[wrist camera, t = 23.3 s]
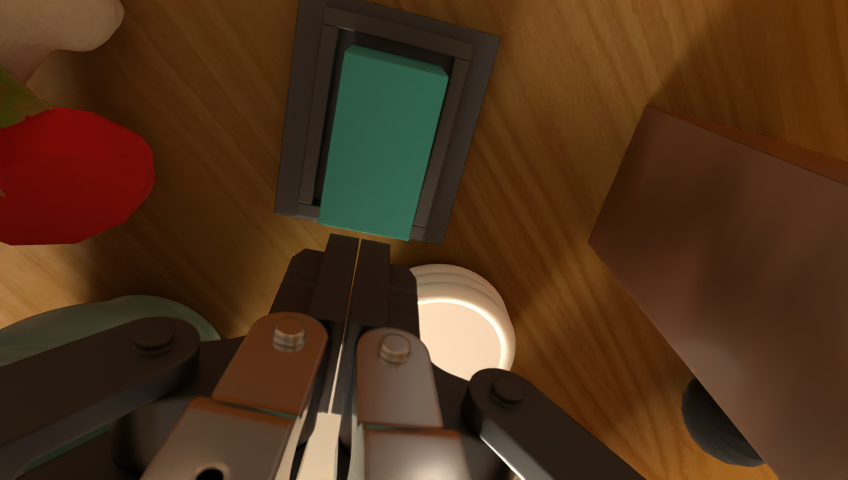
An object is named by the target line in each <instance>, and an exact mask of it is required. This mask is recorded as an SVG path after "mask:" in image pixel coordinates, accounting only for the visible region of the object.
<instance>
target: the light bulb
mask: <svg viewBox="0 0 848 480" xmlns="http://www.w3.org/2000/svg"><path fill="white" fill-rule="evenodd" d="M682 414H683V419H684V423H685V425H686V427H687V429H688V431H689V433H690V435H691V437H692V438H693V439H694V440H695V442H696V443H697V444H698V445H699V446H700V447H701V448H702V449H703V450H704V451H705V452H706V453H708V454H710V455H712V456H713V457H715V458H717V459H718V460H720V461H722V462H724V463H727V464H733V465H740V466H747V467H757V466H760V465H763V464H765V461H764V460H763V459H762V458H761V456H760V455H759V454H758V453H757V452H756V450H755V449H754V448H753V447H752V445H751V444H750V443H749V442H748V440H747V439H746V438H745V437H744V435H743V434H742V433H741V432H740V431H739V429H738V428H737V427H736V426H735V424H734V423H733V422H732V421H731V419H730V418H729V417H728V416H727V414H726V413H725V412H724V411H723V410H722V408H721V407H720V406H719V405H718V403H717V402H716V401H715V400H714V398H713V397H712V396H711V395H710V393H709V392H708V391H707V390H706V389H705V387H704V386H703V385H702V384H701V382H700V381H699V380H698V379H697V377H695V378H693V379H692V380H691V381H690V383H689V385H688V387H687V388H686V390H685V392H684V394H683V401H682Z"/></svg>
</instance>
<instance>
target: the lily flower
mask: <svg viewBox="0 0 848 480" xmlns="http://www.w3.org/2000/svg"><path fill="white" fill-rule="evenodd" d="M51 109H55V108H54V107H53V106H51V105H50V104H48V103H47V102H45V101H44V100H42V99H38V97H37V96H36V95H35V94H34V93H33V91H32V90H31V89H30V88H29V87H27V86H26V85H25V84H24V83H23V82H21V81H20V80H19V79H18V78H17V77H15V76H14V75H13V74H12V73H11V72H9V71H8V70H7V69H5V68H4V67H3V66H2V65H0V129H1V128H5V127H8V126H11V125H14V124H16V123H19V122H21V121H24V119H25V116H34V115H36V114H39V113H41V112H44V110H51ZM0 195H1V196H4V197H6V196H5V195H4V193H3V192H2V190H1V188H0Z"/></svg>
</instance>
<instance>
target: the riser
mask: <svg viewBox="0 0 848 480" xmlns="http://www.w3.org/2000/svg"><path fill="white" fill-rule="evenodd" d="M588 244H589V245H590V247H591V248H592V249H593V250H594V251H595V253H596V254H597V255H598V256H599V258H600V259H601V260H602V261H603V263H604V264H605V265H606V266H607V268H608V269H609V270H610V271H611V272H612V274H613V275H614V276H615V277H616V279H617V280H618V281H619V282H620V284H621V285H622V286H623V287H624V289H625V290H626V291H627V292H628V293H629V295H630V296H631V297H632V298H633V300H634V301H635V302H636V303H637V305H638V306H639V307H640V308H641V310H642V311H643V312H644V313H645V314H646V316H647V317H648V318H649V319H650V321H651V322H652V323H653V324H654V326H655V327H656V328H657V329H658V331H659V332H660V333H661V334H662V335H663V337H664V338H665V339H666V340H667V342H668V343H669V344H670V345H671V347H672V348H673V349H674V350H675V352H676V353H677V354H678V355H679V356H680V358H681V359H682V360H683V361H684V363H685V364H686V365H687V366H688V368H689V369H690V370H691V371H692V373H693V374H694V375H695V376H696V377H697V379H698V380H699V381H700V382H701V384H702V385H703V386H704V387H705V389H706V390H707V391H708V392H709V393H710V395H711V396H712V397H713V398H714V400H715V401H716V402H717V403H718V405H719V406H720V407H721V408H722V410H723V411H724V412H725V413H726V414H727V416H728V417H729V418H730V419H731V421H732V422H733V423H734V424H735V426H736V427H737V428H738V429H739V431H740V432H741V433H742V434H743V435H744V437H745V438H746V439H747V440H748V442H749V443H750V444H751V445H752V447H753V448H754V449H755V450H756V452H757V453H758V454H759V455H760V456H761V458H762V459H763V460H764V461H765V463H766V464H767V465H768V466H769V468H770V469H771V470H772V471H773V473H774V474H775V475H776V476H777V477H778V479H779V480H848V162H845V161H842V160H839V159H836V158H833V157H831V156H828V155H825V154H822V153H819V152H816V151H813V150H810V149H807V148H805V147H802V146H799V145H796V144H793V143H790V142H787V141H784V140H781V139H778V138H774V137H770V136H766V135H762V134H758V133H754V132H750V131H746V130H742V129H738V128H734V127H731V126H727V125H723V124H719V123H715V122H711V121H707V120H703V119H699V118H695V117H691V116H687V115H683V114H680V113H676V112H672V111H668V110H664V109H660V108H656V107H652V106H648V105H646V107H645V109H644V111H643V114H642V116H641V119H640V121H639V123H638V126H637V128H636V130H635V133H634V135H633V137H632V140H631V142H630V144H629V147H628V149H627V152H626V154H625V156H624V159H623V161H622V163H621V166H620V168H619V170H618V173H617V175H616V177H615V180H614V182H613V184H612V187H611V189H610V192H609V194H608V196H607V199H606V201H605V203H604V206H603V208H602V210H601V213H600V215H599V217H598V220H597V222H596V224H595V227H594V229H593V232H592V234H591V236H590V239H589V241H588Z"/></svg>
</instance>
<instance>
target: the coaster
mask: <svg viewBox="0 0 848 480" xmlns="http://www.w3.org/2000/svg"><path fill="white" fill-rule="evenodd" d="M410 271H411V272H412V273H413V275H414V276H415V278H416V279H417V295H418V310H419V325H420V340H421V341H422V342H423V343H424V344H425V345H426V347H427V349H428V351H429V354H430V359H431V362H433V363H434V364H435V365H436V366H438V367H439V368H441V369H442V370H444V371H446V372H448V373H450V374H453V375H455V376H458V377H460V378H463V379H465V380H468V381H470V379H471V377H472V376H473V375H474V374H475V373H476V372H477V371H479V370H482V369H486V368H499V369H504V370H508V371H510V369H511V366H512V364H513V360H514V356H515V348H516V339H515V333H514V329H513V326H512V323H511V321H510V318H509V315H508V313H507V310H506V307H505V304H504V302H503V300H502V298H501V296H500V295H499V293H498V292H497V291H496V289H495V288H494V287H493V286H492V285H491V284H490V283H489V282H488V281H487V280H485V279H484V278H483V277H481V276H480V275H478V274H476V273H474V272H473V271H470V270H468V269H465V268H463V267H459V266H455V265H448V264H428V265H421V266H417V267H413V268H410Z"/></svg>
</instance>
